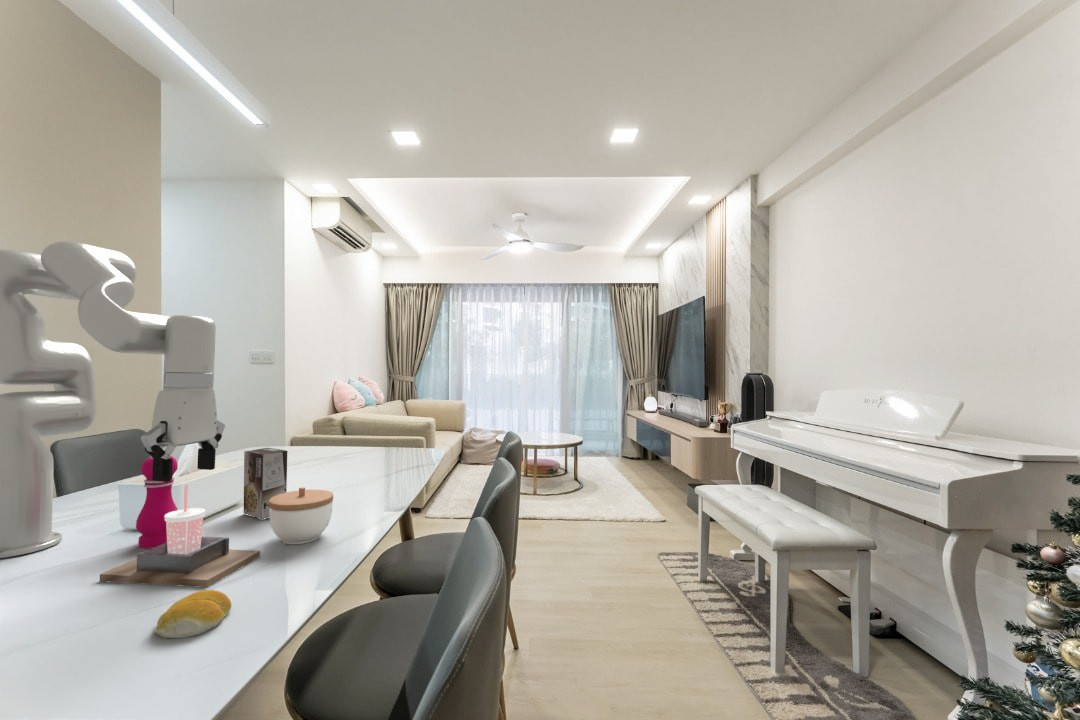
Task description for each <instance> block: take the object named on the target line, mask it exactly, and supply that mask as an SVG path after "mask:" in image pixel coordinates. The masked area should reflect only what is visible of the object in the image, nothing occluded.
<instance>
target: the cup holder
mask: <svg viewBox="0 0 1080 720" xmlns="http://www.w3.org/2000/svg"><path fill="white" fill-rule="evenodd" d="M260 556H261V554H260V550H251V549H247V550H246V549H230V538H229V537H222V536H220V537H219V536H202V537H201V547H200V549H198V550H195V551H193V552H191V553H189V554H171V553H168V549H167V542H166V543H164V544H162V545H159V546H157V547H154V548H149V549H148V550H145V551H140V552H138V553H136V558H135V559H131V560H130V561H127V562H125V563H123V564H120V565H118V566H115V567H113V568H111V569H108V570H106V571H104V572H101V573H100V574H99V580H98V581H99V582H105V581H110V582H109V583H123V582H129V584H141V583H147V584H146V585H158V586H159V585H162V586H164V585H165V586H176V585H183V586H182V587H194V586H199V587H200V588H209V587H210V586H212V585H214V584H216V583H217V582H219V581H221V580H222V578H223V579H224V578H226V577H227V575H228V576H229V575H231V574H232V572H233V573H234V571H235V572H236V571H238V570H240V569H241V567H242V566H243V567H245V566H247V565H248V564H251V563H252V562H254V561H255V560H257V559H259V558H260ZM253 560H254V561H253ZM246 564H247V565H246ZM244 565H245V566H244ZM243 567H242V568H243ZM239 568H240V569H239ZM237 569H238V570H237ZM225 576H226V577H225ZM199 587H198V588H199Z"/></svg>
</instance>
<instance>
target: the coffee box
mask: <svg viewBox="0 0 1080 720" xmlns="http://www.w3.org/2000/svg"><path fill="white" fill-rule="evenodd" d="M243 453H244V455H243V456H244V457H243V458H244V459H243V514H244V513H245V514H248V515H251V516H254V517H257V518H260V519H264V518H268V517H269V500H270V498H272V497H274V496H276V495H279V494H282V493H286V492H287V489H288V488H287V485H288V484H287V483H288V481H287V480H288V479H287V478H288V450H286V449H280V448H272V447H264V448H257V449H251V450H245V451H244V452H243ZM251 516H250V517H251ZM254 517H253V518H254ZM257 518H256V519H257ZM260 519H259V520H260ZM268 519H269V518H268ZM264 520H265V519H264Z"/></svg>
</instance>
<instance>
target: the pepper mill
mask: <svg viewBox="0 0 1080 720" xmlns="http://www.w3.org/2000/svg"><path fill="white" fill-rule="evenodd" d="M165 449H166V448H165V447H164V448H163V450H165ZM169 458H173V468H172V480H171V481H169V482H162V481H153V480H152V474H153V459H151V458H150V457H148V458H146V459H145V460H144V461H143V462H142V465H141V469H140V470H141V472H140V473H141V474H142V475H143V476H144V477H145V479H144V480H143V482H144V484H143V487H144V488H146V497H145V501H144V504H143V506H142V508H141V510H140V512H139V514H138V516H137V518H136V521H135V523H136V524H135V529H136V531H137V532H138V533H140V534H141V535H140V536H139V537H138V543H137V544H138V547H139V548H141V549H152V548H154V547H157V546H159V545H162V544H164V543H166V542H167V529H166V521H165V518H164V516H165V514H167V513H169V512H172V511H176V510H179V509H178V507H177V506H176V503H175V501H174V498H173V494H172V490H173V489H172V488H173V484H175V476H174V474H175V473H176V472H177V471H178V466H179V465H178V460H177V459H176V458H175V457H174V456H172V455H170V457H169Z"/></svg>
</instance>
